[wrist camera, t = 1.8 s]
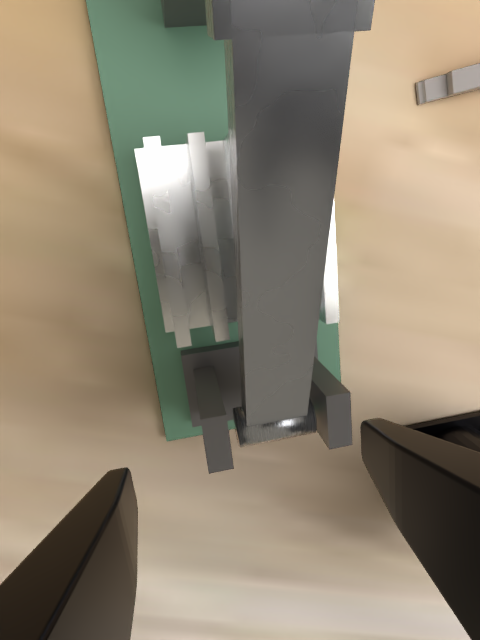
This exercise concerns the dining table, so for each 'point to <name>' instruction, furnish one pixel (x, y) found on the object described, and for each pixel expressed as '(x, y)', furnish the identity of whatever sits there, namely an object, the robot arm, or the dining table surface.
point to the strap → (282, 190)
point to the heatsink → (201, 236)
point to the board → (172, 126)
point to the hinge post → (225, 394)
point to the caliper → (449, 84)
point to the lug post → (183, 13)
